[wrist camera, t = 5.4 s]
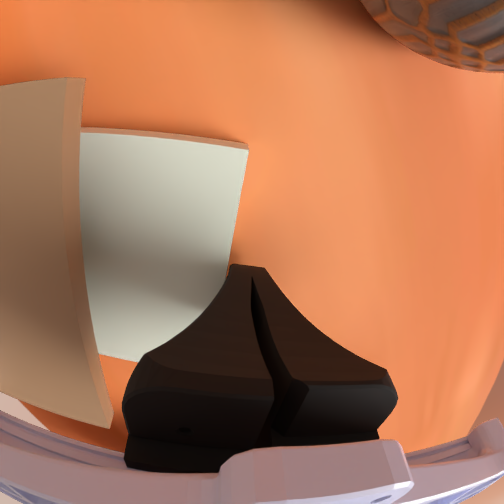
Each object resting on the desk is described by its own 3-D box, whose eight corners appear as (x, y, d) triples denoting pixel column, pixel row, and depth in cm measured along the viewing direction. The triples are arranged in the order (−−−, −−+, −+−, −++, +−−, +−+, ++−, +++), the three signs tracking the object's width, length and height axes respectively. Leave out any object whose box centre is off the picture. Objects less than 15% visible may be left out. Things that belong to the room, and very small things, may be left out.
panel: (212, 347, 15) (210, 373, 14) (53, 316, 14) (39, 337, 13) (247, 142, 11) (249, 150, 9) (34, 125, 10) (9, 132, 8)
